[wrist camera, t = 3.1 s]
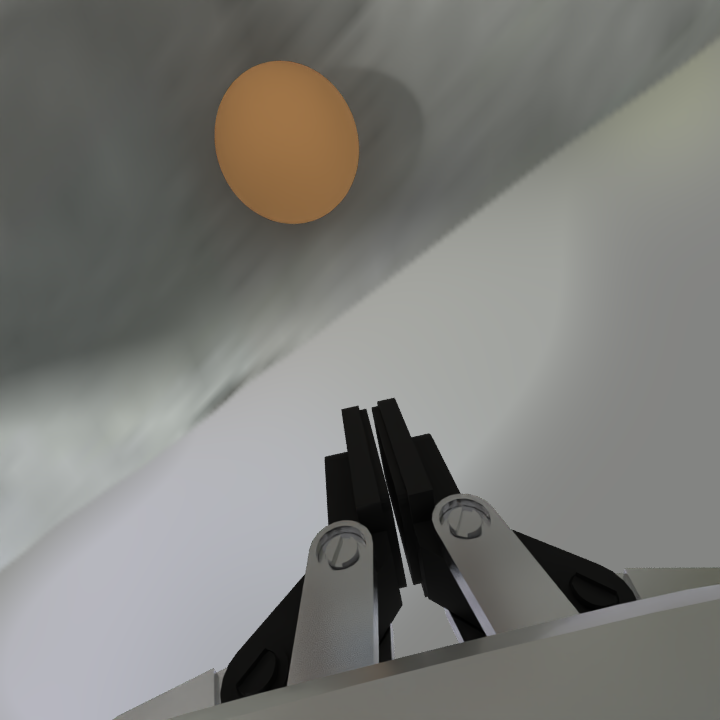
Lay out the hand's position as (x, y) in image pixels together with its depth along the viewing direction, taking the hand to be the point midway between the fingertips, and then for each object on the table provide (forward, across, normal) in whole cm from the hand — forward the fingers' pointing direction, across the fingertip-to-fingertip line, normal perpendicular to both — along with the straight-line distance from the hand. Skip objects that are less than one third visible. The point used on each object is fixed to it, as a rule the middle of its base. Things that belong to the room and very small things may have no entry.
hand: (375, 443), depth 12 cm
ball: (+9, +1, -9) cm, 13 cm away
